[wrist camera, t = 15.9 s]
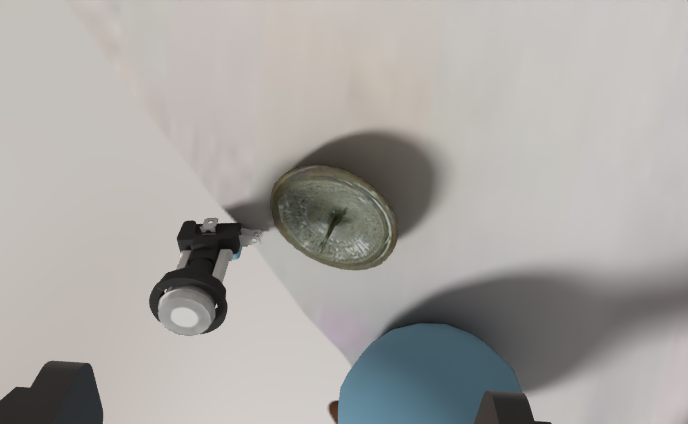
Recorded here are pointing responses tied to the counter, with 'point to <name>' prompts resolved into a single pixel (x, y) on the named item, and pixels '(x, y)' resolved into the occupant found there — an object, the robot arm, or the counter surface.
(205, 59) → the counter surface
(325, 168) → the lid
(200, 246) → the push button
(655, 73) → the counter surface
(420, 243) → the counter surface
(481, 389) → the vase
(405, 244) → the counter surface
